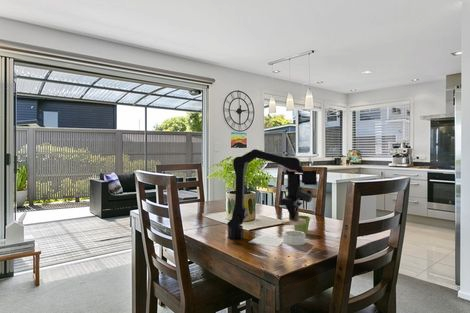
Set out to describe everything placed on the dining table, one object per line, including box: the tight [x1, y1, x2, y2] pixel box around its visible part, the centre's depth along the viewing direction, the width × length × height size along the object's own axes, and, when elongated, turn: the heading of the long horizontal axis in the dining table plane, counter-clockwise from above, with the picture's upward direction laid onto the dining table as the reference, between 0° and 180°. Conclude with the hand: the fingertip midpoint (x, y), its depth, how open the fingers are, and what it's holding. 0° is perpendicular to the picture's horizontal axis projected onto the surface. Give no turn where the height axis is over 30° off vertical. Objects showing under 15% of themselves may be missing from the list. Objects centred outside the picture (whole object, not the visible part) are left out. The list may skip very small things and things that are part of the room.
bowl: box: [282, 230, 307, 246], centre depth 140 cm, size 10×10×4 cm
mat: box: [248, 234, 284, 248], centre depth 142 cm, size 14×14×1 cm
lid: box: [281, 210, 306, 226], centre depth 139 cm, size 11×11×5 cm
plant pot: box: [293, 214, 312, 235], centre depth 155 cm, size 9×9×9 cm
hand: (293, 218), depth 139 cm, fingers closed on lid
